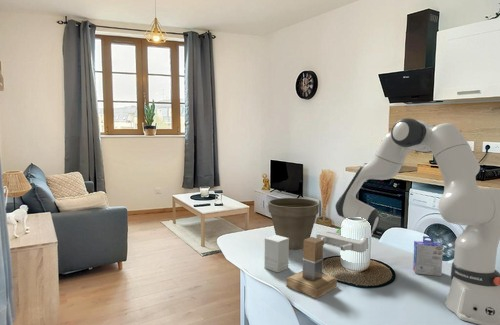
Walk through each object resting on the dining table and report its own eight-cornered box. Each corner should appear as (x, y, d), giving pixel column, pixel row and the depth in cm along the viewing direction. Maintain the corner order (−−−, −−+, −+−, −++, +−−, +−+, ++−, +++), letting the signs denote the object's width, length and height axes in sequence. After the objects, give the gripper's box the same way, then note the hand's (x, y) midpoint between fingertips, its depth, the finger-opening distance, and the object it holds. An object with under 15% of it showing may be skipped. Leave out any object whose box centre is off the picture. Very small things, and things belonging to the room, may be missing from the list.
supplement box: (289, 268, 143) (289, 238, 142) (277, 273, 138) (278, 241, 137) (275, 263, 148) (275, 234, 147) (263, 268, 143) (264, 237, 142)
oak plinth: (336, 286, 127) (337, 277, 126) (316, 298, 117) (317, 289, 117) (307, 276, 136) (307, 267, 135) (286, 286, 126) (286, 277, 126)
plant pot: (256, 243, 175) (257, 200, 173) (289, 234, 191) (290, 195, 189) (295, 257, 156) (296, 209, 154) (327, 245, 173) (329, 202, 171)
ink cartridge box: (437, 271, 143) (440, 236, 142) (442, 276, 138) (444, 240, 136) (411, 268, 145) (414, 234, 144) (415, 274, 140) (417, 238, 138)
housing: (322, 277, 126) (324, 240, 125) (314, 282, 122) (315, 243, 121) (310, 273, 130) (311, 236, 129) (301, 277, 126) (302, 239, 125)
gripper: (326, 225, 151) (308, 232, 141) (372, 235, 137) (355, 243, 127) (326, 239, 151) (308, 247, 141) (371, 250, 137) (355, 260, 127)
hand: (331, 245), depth 134 cm, fingers open, 8 cm apart
